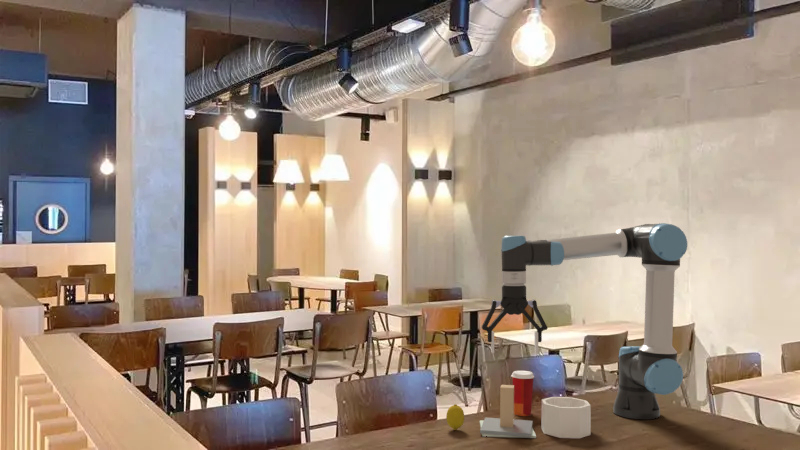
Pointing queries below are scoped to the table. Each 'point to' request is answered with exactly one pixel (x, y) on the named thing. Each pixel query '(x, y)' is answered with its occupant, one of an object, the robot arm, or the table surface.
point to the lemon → (455, 417)
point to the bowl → (566, 417)
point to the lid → (507, 418)
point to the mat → (506, 435)
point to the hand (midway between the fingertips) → (514, 352)
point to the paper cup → (522, 392)
